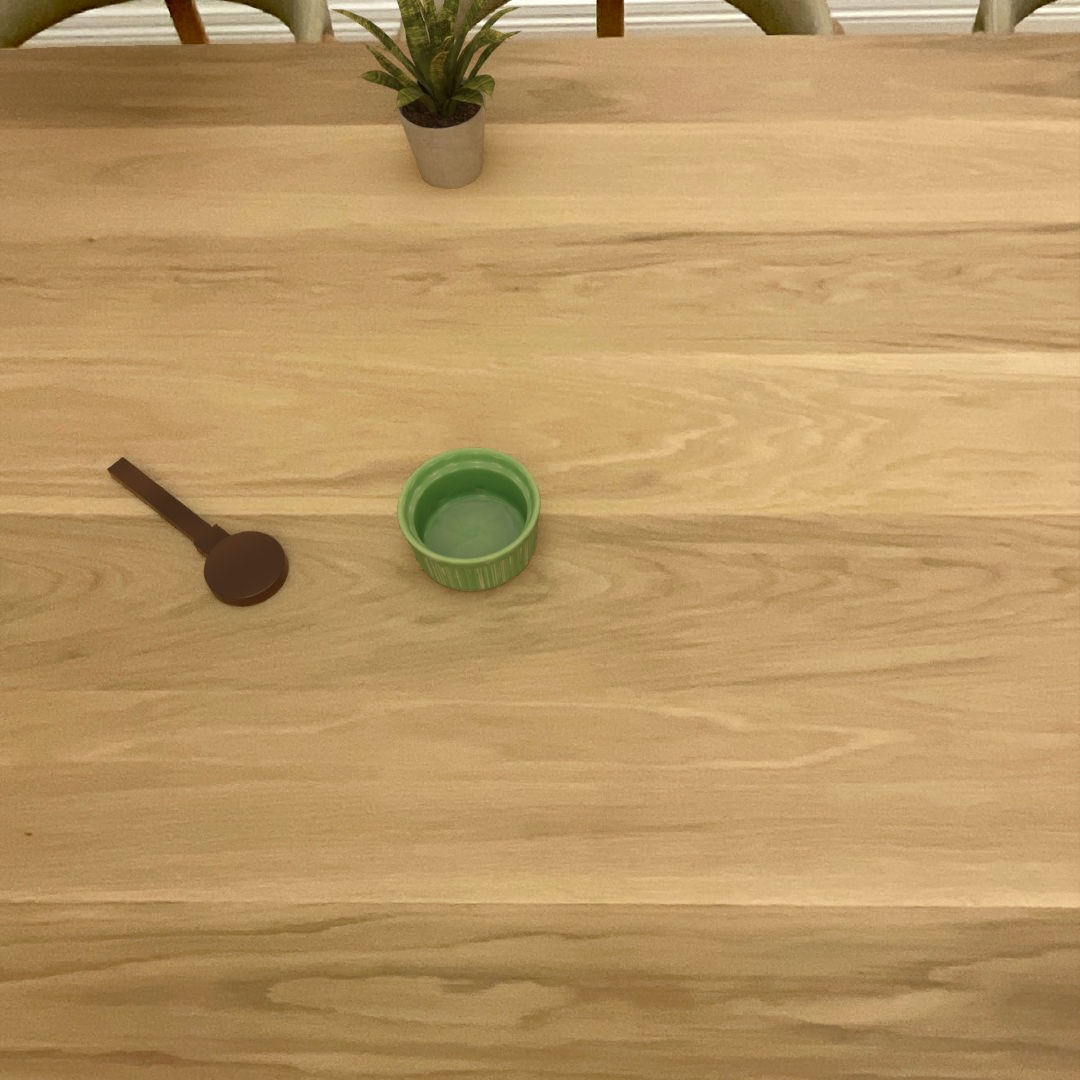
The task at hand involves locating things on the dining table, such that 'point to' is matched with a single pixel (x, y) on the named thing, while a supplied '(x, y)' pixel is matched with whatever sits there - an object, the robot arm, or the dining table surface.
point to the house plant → (439, 87)
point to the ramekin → (471, 517)
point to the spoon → (215, 544)
